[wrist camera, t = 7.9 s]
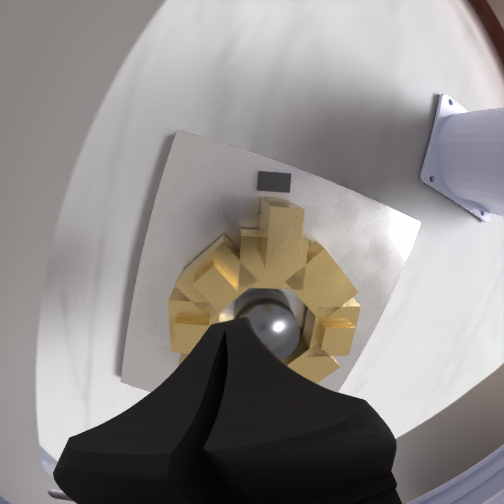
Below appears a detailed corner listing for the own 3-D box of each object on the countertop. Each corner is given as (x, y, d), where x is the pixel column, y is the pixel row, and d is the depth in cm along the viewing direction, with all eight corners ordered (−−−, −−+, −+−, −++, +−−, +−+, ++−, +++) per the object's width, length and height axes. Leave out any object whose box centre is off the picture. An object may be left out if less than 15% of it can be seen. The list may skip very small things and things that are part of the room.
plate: (413, 220, 20) (445, 231, 16) (313, 417, 25) (323, 447, 21) (180, 131, 18) (166, 121, 14) (123, 374, 22) (110, 404, 18)
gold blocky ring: (329, 382, 22) (345, 420, 18) (178, 379, 21) (169, 421, 17) (364, 207, 18) (400, 219, 14) (175, 192, 17) (156, 200, 13)
